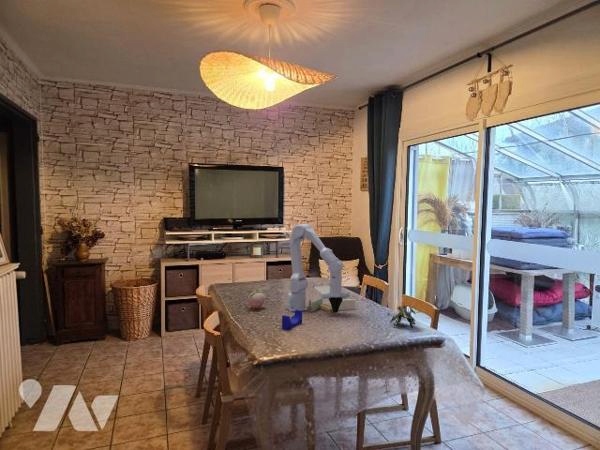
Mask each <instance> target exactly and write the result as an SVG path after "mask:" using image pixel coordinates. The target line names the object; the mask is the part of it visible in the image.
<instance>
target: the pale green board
mask: <svg viewBox="0 0 600 450" xmlns="http://www.w3.org/2000/svg"><path fill="white" fill-rule="evenodd" d="M355 309H356V299H355V298H346V299H343V301H342V302H341V304H340V307H339V310H338V311H347V310H355ZM308 313H310V314H311V313H312V300H311V299H309V300H308Z"/></svg>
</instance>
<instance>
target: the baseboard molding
mask: <svg viewBox="0 0 600 450" xmlns="http://www.w3.org/2000/svg"><path fill="white" fill-rule="evenodd" d="M312 288H313V289H315V290H316V291H318V292H319V294H328V293H330V285H324V284H323V283H322V284H321V283H320V285H315V284H314V285H313V286H312ZM342 299H343V300H346V299H347V297H342Z"/></svg>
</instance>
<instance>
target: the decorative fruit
mask: <svg viewBox="0 0 600 450" xmlns="http://www.w3.org/2000/svg"><path fill="white" fill-rule="evenodd" d="M255 290H256V291H253V292H251V293H250V294H249V295H248V296H247V297H248V298H247V302H248V304H249V305H250V307H251V308H254V309H255V310H257V309H260V308H261V307H262V306H263V305H264V304H265V302H266V299H267V297H266V295H265V292H264V291H262V290H258V289H255Z"/></svg>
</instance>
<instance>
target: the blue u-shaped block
mask: <svg viewBox="0 0 600 450" xmlns="http://www.w3.org/2000/svg"><path fill="white" fill-rule="evenodd" d="M301 324H303V311H302V310H295V311H294V315H291V316H290V315H287V314H283V315H281V329H282V330H283V331H289V330H291V329H293V328H295V327H297V326H299V325H301Z"/></svg>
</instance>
